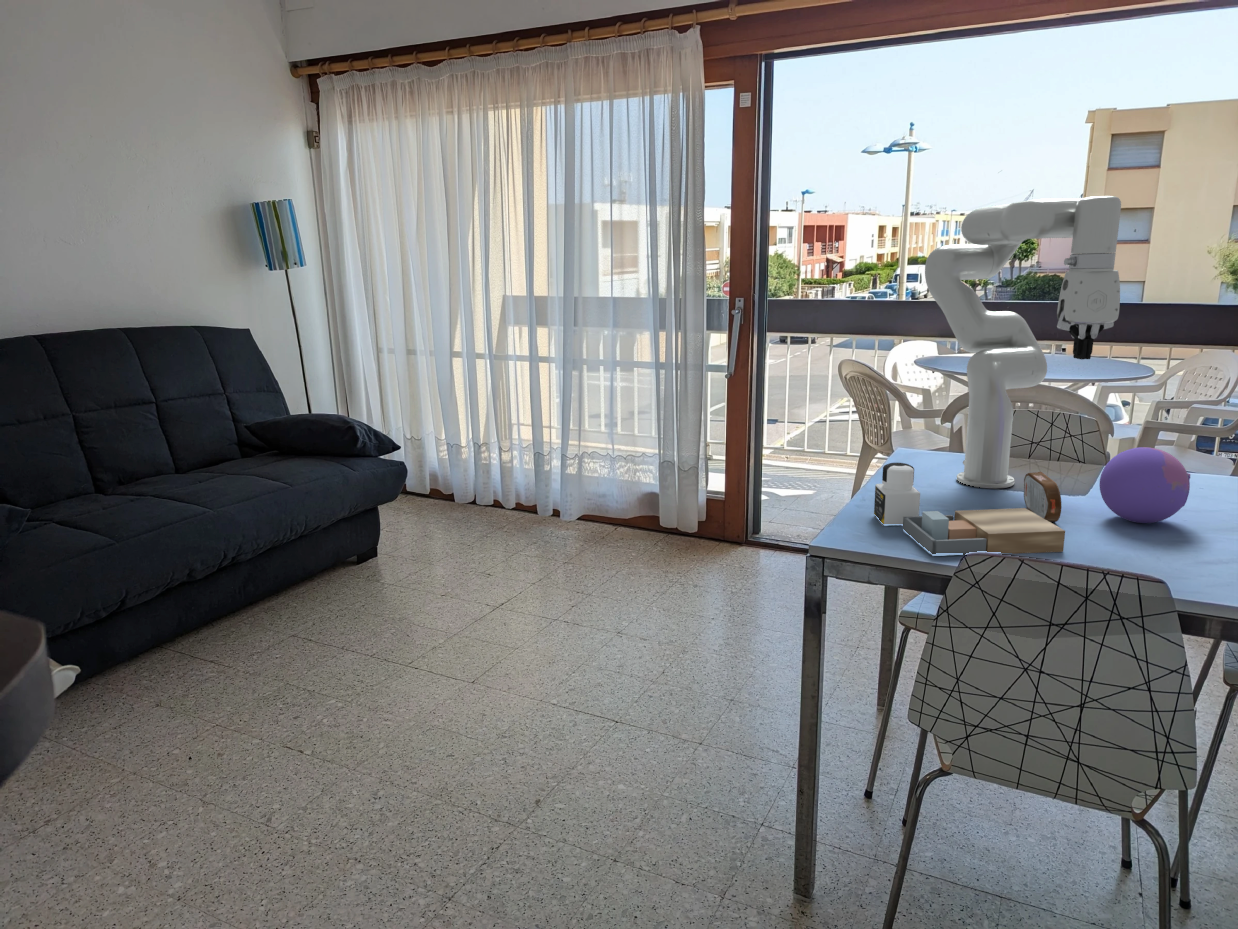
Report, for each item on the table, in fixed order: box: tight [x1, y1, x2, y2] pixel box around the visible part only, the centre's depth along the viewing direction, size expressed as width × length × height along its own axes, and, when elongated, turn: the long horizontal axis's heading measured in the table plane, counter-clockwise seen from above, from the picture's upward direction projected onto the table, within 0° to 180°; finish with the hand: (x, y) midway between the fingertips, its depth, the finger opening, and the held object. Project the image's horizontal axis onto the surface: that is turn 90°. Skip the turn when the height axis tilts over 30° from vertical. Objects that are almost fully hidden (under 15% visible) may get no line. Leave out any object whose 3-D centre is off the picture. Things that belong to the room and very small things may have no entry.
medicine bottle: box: [873, 462, 921, 524], centre depth 166 cm, size 7×7×12 cm
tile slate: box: [921, 510, 949, 540], centre depth 153 cm, size 5×5×3 cm
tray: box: [902, 514, 987, 555], centre depth 154 cm, size 14×10×3 cm
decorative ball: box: [1099, 446, 1191, 524], centre depth 161 cm, size 15×15×15 cm
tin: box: [1023, 471, 1062, 523], centre depth 167 cm, size 15×3×8 cm, turn 172°
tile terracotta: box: [948, 520, 977, 540], centre depth 154 cm, size 5×5×3 cm
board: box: [953, 507, 1066, 555], centre depth 154 cm, size 14×14×4 cm
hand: (1081, 358), depth 162 cm, fingers closed
